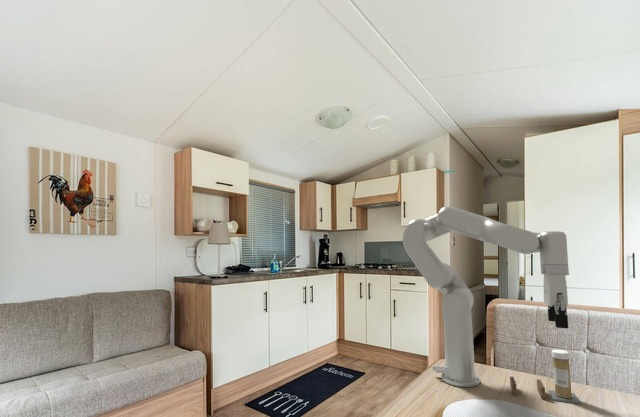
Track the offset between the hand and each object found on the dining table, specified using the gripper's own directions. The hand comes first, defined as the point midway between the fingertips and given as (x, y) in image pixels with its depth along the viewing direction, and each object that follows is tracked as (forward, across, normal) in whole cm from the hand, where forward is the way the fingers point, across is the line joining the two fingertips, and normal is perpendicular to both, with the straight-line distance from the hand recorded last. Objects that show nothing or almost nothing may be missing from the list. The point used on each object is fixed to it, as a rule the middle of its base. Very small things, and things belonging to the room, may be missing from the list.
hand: (557, 324), depth 113 cm
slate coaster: (+22, 0, 0) cm, 22 cm away
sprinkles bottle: (+22, 0, 0) cm, 22 cm away
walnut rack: (+22, 0, -10) cm, 24 cm away
